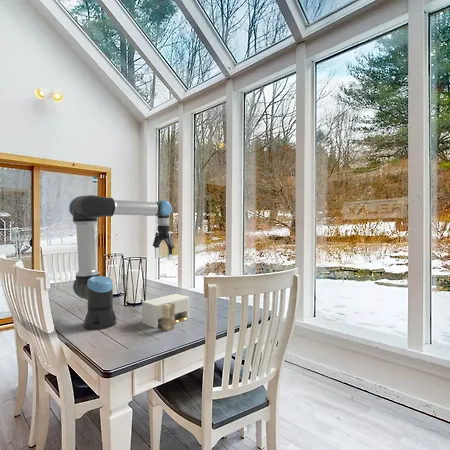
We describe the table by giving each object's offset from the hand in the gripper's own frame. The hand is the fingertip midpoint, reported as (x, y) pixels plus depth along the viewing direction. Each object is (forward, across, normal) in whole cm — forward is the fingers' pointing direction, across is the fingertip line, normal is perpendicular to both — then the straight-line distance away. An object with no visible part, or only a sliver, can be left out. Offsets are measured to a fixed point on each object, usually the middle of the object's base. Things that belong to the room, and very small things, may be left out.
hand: (163, 258), depth 202 cm
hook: (+27, -39, +21) cm, 52 cm away
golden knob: (+28, -38, +19) cm, 50 cm away
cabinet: (+27, -32, +20) cm, 47 cm away
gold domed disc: (+28, -37, +14) cm, 48 cm away
